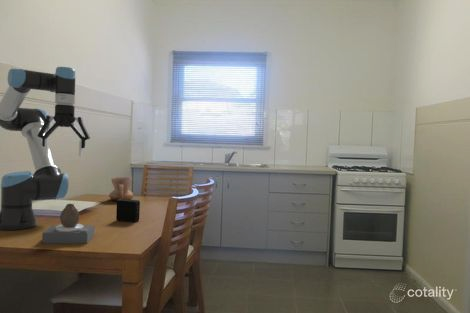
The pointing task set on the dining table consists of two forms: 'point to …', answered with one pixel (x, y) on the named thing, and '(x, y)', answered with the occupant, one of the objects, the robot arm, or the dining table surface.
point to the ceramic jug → (121, 188)
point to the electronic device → (128, 210)
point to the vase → (69, 216)
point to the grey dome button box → (68, 234)
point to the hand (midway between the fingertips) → (63, 155)
